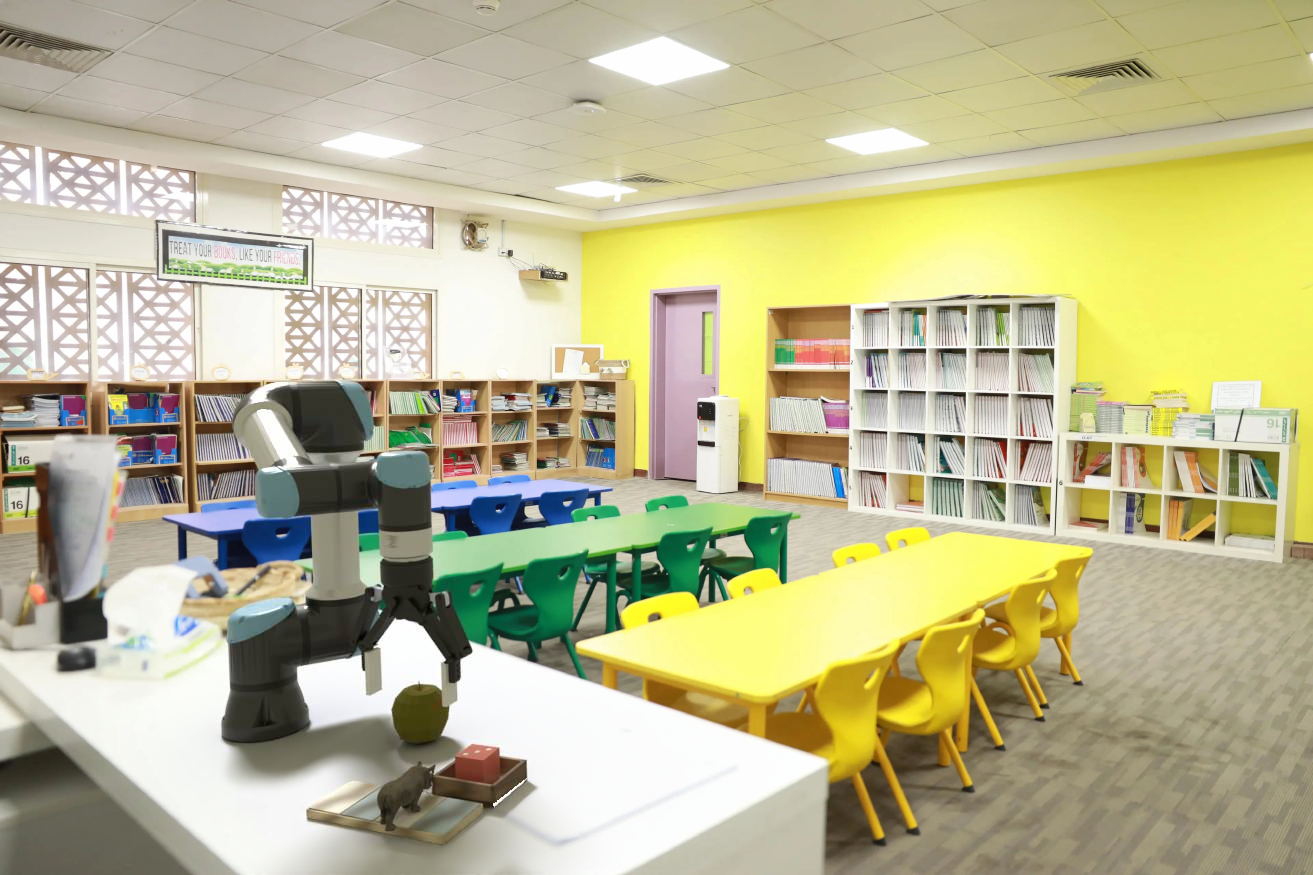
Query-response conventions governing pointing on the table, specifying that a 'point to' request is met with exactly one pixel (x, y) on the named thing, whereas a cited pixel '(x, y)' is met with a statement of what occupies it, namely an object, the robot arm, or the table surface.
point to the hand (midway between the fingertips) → (411, 697)
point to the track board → (362, 811)
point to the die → (478, 764)
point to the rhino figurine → (403, 793)
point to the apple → (419, 713)
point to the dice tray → (478, 792)
